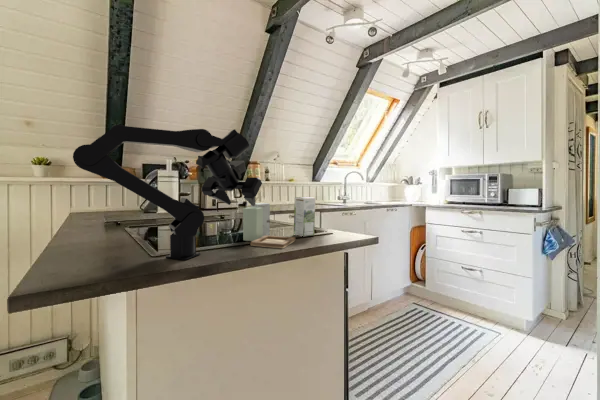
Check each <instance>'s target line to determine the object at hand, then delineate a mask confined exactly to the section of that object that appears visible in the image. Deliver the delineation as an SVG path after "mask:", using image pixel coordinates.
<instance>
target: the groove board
mask: <svg viewBox="0 0 600 400" xmlns="http://www.w3.org/2000/svg"><path fill="white" fill-rule="evenodd" d="M294 242H296V237H294V236H281V235H265V236H263V237H261V238H258V239H256V240H254V241H250V246H251V247H263V248H271V249H272V248H274V249H284V248H287V247H288V246H290V245H291V244H293V243H294Z"/></svg>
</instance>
